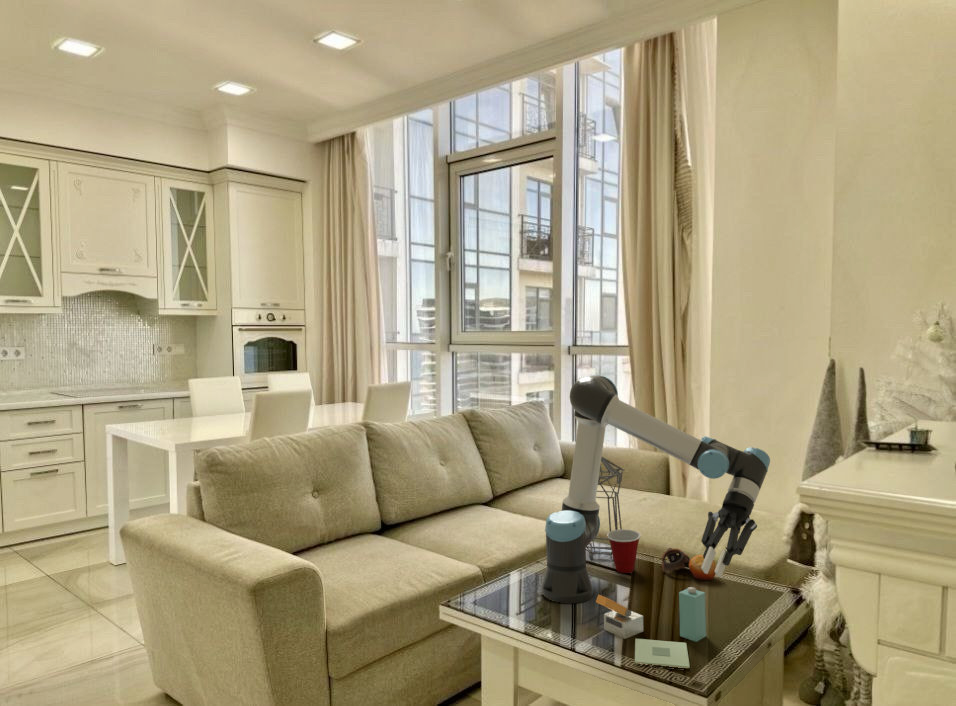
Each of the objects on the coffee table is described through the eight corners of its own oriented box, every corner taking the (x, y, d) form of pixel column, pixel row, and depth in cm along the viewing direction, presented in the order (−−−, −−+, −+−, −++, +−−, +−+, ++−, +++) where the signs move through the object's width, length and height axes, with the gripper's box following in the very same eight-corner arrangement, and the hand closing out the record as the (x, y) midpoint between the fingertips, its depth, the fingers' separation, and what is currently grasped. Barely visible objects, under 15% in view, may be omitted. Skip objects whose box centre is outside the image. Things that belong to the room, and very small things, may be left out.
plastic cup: (601, 571, 211) (600, 534, 211) (617, 562, 219) (616, 527, 219) (631, 578, 204) (631, 540, 204) (647, 569, 212) (646, 532, 212)
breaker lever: (620, 605, 169) (596, 593, 164) (632, 610, 166) (608, 598, 161) (617, 613, 168) (594, 601, 163) (629, 618, 165) (605, 606, 160)
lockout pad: (634, 664, 149) (634, 660, 149) (635, 641, 160) (635, 638, 160) (689, 670, 146) (689, 666, 146) (686, 646, 157) (686, 642, 157)
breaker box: (622, 622, 172) (622, 607, 172) (643, 631, 166) (643, 615, 166) (603, 629, 167) (603, 614, 167) (624, 639, 162) (623, 623, 162)
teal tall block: (680, 636, 163) (678, 588, 163) (689, 630, 166) (688, 583, 166) (696, 641, 159) (695, 593, 159) (705, 636, 162) (704, 588, 162)
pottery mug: (700, 576, 206) (691, 556, 204) (674, 590, 206) (665, 570, 204) (683, 555, 218) (674, 536, 215) (658, 568, 217) (649, 550, 215)
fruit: (715, 568, 207) (715, 551, 203) (716, 589, 201) (716, 571, 197) (689, 566, 210) (688, 549, 206) (689, 586, 203) (688, 569, 199)
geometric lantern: (576, 561, 222) (572, 459, 223) (584, 549, 236) (581, 452, 237) (622, 565, 216) (619, 460, 217) (628, 552, 231) (625, 453, 232)
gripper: (774, 511, 175) (746, 588, 164) (718, 501, 187) (688, 572, 176) (764, 494, 171) (735, 572, 161) (708, 486, 184) (677, 557, 173)
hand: (710, 572), depth 168 cm, fingers open, 3 cm apart
